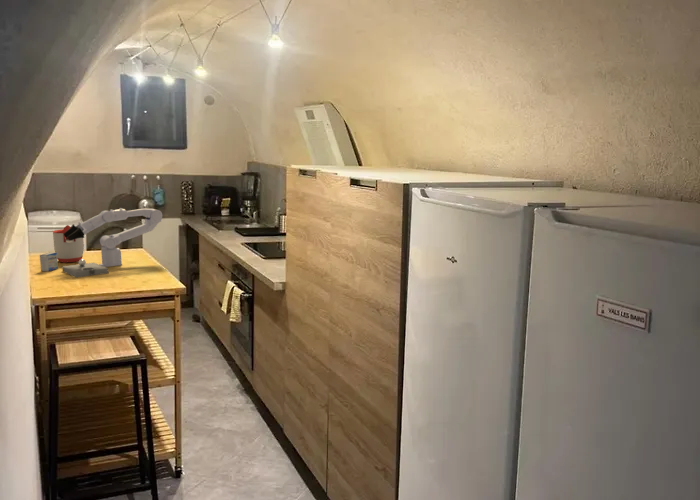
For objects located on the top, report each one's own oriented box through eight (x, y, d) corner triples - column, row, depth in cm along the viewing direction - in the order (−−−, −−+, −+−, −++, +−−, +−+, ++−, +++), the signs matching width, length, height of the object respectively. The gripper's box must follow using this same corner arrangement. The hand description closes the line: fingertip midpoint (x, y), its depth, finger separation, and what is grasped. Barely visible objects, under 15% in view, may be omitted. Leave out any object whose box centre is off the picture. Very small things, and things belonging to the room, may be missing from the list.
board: (94, 267, 344) (94, 262, 344) (108, 273, 329) (108, 268, 329) (62, 271, 334) (62, 266, 334) (75, 277, 319) (75, 272, 319)
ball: (84, 265, 337) (84, 258, 336) (87, 266, 334) (86, 259, 333) (77, 266, 334) (77, 259, 334) (79, 267, 332) (79, 260, 331)
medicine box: (48, 271, 333) (47, 254, 332) (40, 271, 334) (39, 254, 333) (58, 268, 341) (57, 252, 339) (50, 268, 342) (49, 251, 340)
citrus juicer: (55, 265, 350) (53, 228, 347) (53, 259, 365) (51, 224, 362) (87, 262, 357) (84, 226, 354) (83, 257, 372) (81, 222, 369)
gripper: (83, 215, 345) (58, 227, 339) (91, 220, 334) (66, 233, 328) (89, 226, 348) (65, 239, 342) (97, 232, 337) (73, 245, 331)
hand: (66, 237), depth 335 cm, fingers open, 7 cm apart
